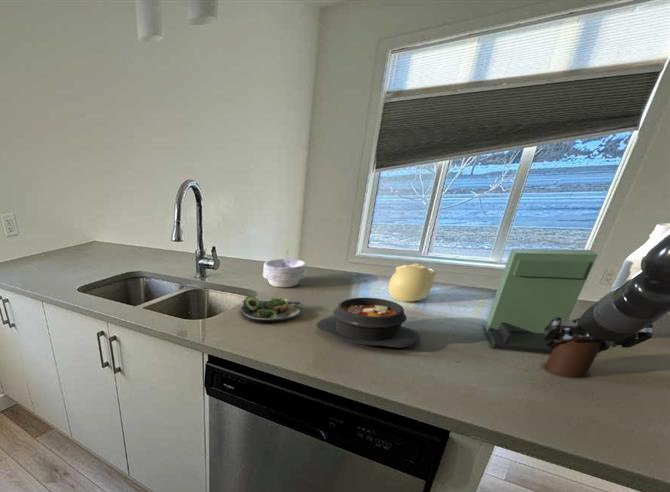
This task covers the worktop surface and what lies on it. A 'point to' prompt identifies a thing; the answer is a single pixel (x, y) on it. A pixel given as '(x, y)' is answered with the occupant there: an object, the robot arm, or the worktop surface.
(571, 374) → the brown cylinder canister
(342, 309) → the casserole
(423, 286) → the pale yellow rounded lump
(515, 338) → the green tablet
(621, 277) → the water bottle
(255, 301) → the salad plate
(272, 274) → the paper bowls
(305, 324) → the worktop surface
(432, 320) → the worktop surface
